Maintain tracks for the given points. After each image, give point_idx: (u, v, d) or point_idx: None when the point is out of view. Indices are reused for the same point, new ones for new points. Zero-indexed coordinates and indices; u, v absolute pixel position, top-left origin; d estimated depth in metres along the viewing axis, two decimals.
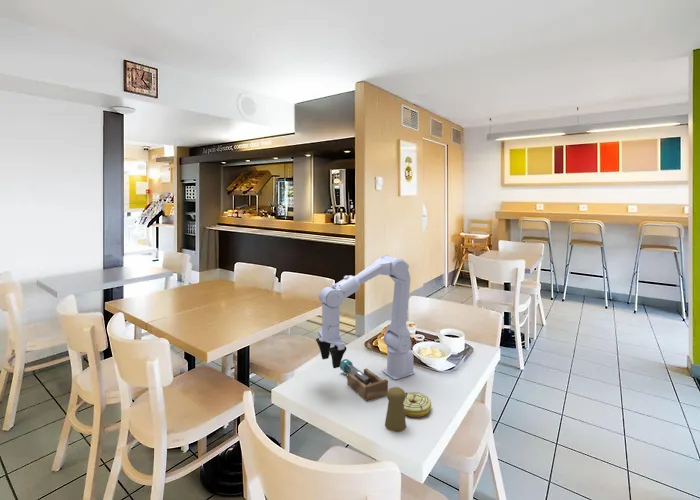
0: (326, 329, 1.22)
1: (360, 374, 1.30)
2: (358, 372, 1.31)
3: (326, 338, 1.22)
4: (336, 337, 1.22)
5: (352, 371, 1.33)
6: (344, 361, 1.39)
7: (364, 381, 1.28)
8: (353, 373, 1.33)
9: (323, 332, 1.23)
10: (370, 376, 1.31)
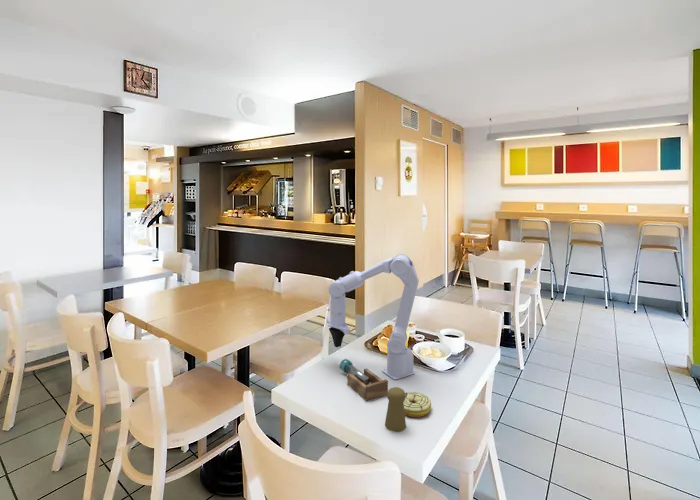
0: (334, 316, 1.40)
1: (360, 374, 1.30)
2: (358, 372, 1.31)
3: (334, 324, 1.40)
4: (342, 323, 1.41)
5: (352, 371, 1.33)
6: (344, 361, 1.39)
7: (364, 381, 1.28)
8: (353, 373, 1.33)
9: (331, 319, 1.41)
10: (370, 376, 1.31)
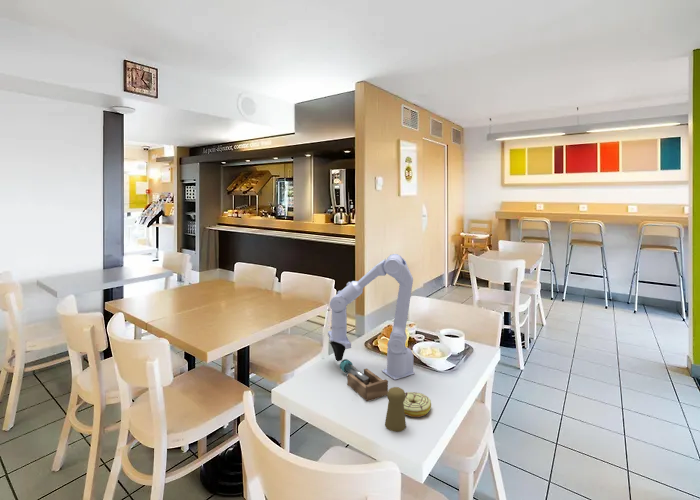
0: (335, 330, 1.40)
1: (360, 374, 1.30)
2: (358, 372, 1.31)
3: (335, 338, 1.40)
4: (344, 337, 1.41)
5: (352, 371, 1.33)
6: (344, 361, 1.39)
7: (364, 381, 1.28)
8: (353, 373, 1.33)
9: (332, 333, 1.41)
10: (370, 376, 1.31)
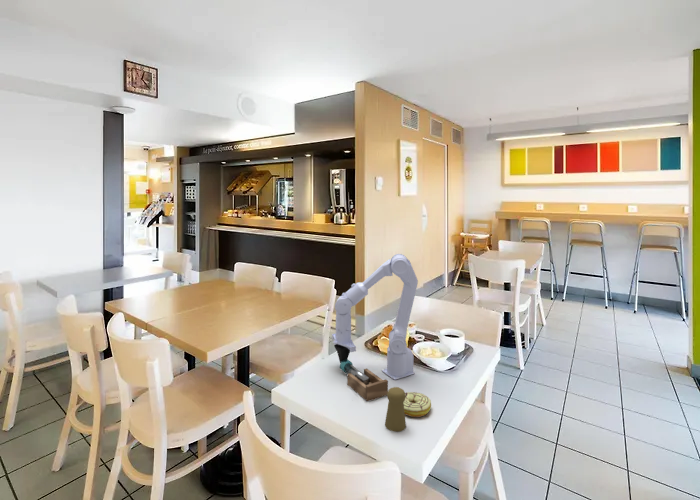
0: (339, 333, 1.37)
1: (360, 374, 1.30)
2: (358, 372, 1.31)
3: (339, 341, 1.37)
4: (348, 340, 1.38)
5: (352, 371, 1.33)
6: (344, 361, 1.39)
7: (364, 381, 1.28)
8: (353, 373, 1.33)
9: (337, 336, 1.38)
10: (370, 376, 1.31)
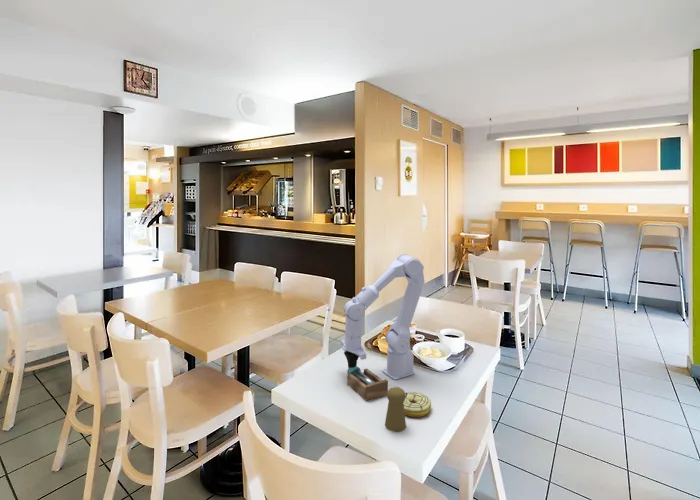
0: (349, 340, 1.31)
1: (369, 381, 1.25)
2: (367, 379, 1.27)
3: (349, 348, 1.32)
4: (358, 347, 1.32)
5: (360, 378, 1.29)
6: (352, 367, 1.34)
7: None
8: (361, 380, 1.28)
9: (346, 342, 1.32)
10: (370, 376, 1.31)
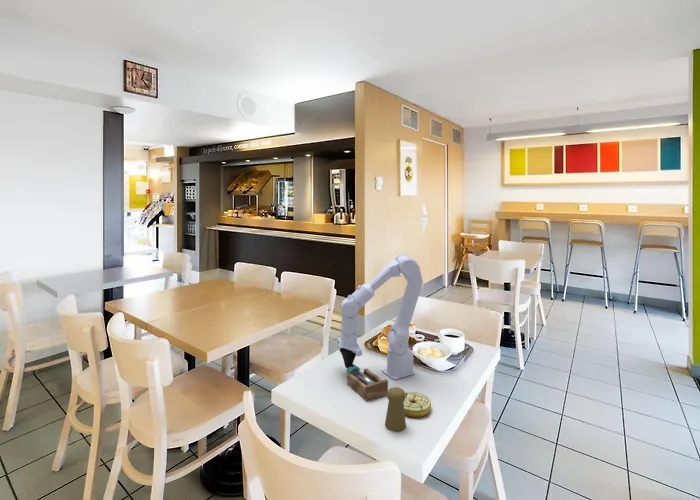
0: (345, 337, 1.34)
1: (368, 380, 1.26)
2: (366, 378, 1.27)
3: (345, 345, 1.34)
4: (354, 344, 1.34)
5: (360, 377, 1.29)
6: (351, 366, 1.34)
7: None
8: (360, 379, 1.28)
9: (342, 339, 1.35)
10: (370, 376, 1.31)
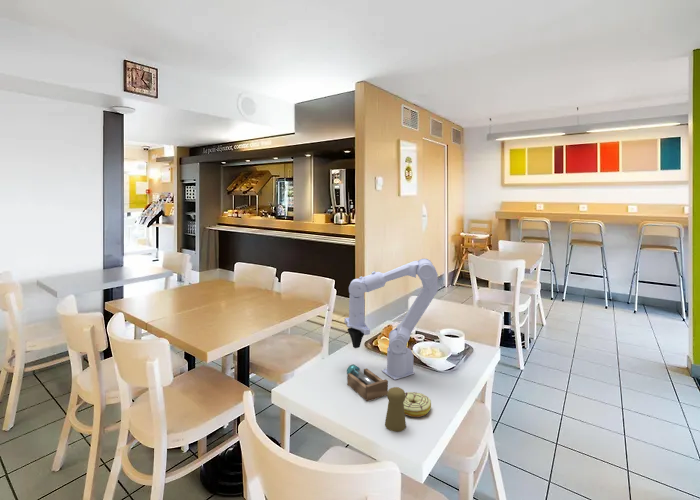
0: (353, 316, 1.36)
1: (368, 380, 1.26)
2: (366, 378, 1.27)
3: (353, 324, 1.36)
4: (362, 324, 1.37)
5: (360, 377, 1.29)
6: (351, 366, 1.34)
7: None
8: (360, 379, 1.28)
9: (350, 319, 1.37)
10: (370, 376, 1.31)
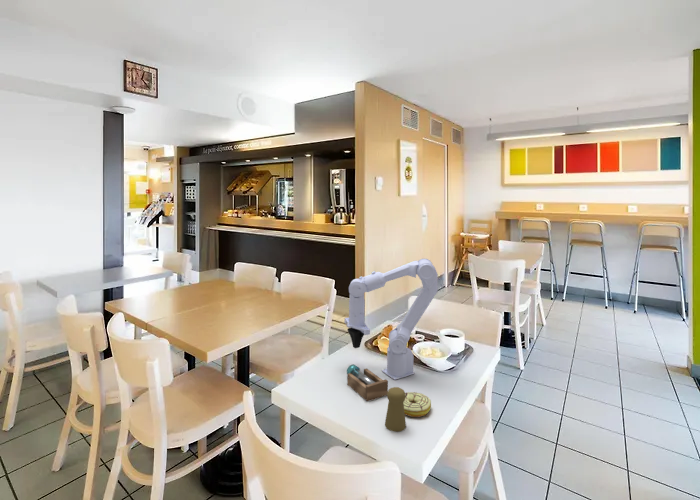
0: (353, 316, 1.36)
1: (368, 380, 1.26)
2: (366, 378, 1.27)
3: (353, 324, 1.36)
4: (362, 324, 1.37)
5: (360, 377, 1.29)
6: (351, 366, 1.34)
7: None
8: (360, 379, 1.28)
9: (350, 319, 1.37)
10: (370, 376, 1.31)
